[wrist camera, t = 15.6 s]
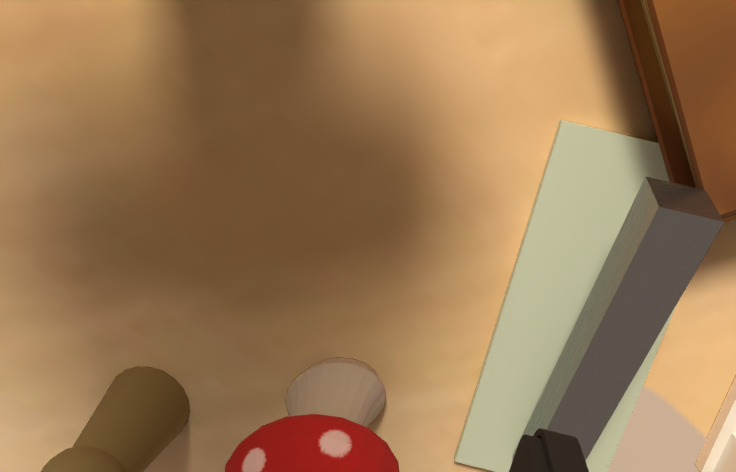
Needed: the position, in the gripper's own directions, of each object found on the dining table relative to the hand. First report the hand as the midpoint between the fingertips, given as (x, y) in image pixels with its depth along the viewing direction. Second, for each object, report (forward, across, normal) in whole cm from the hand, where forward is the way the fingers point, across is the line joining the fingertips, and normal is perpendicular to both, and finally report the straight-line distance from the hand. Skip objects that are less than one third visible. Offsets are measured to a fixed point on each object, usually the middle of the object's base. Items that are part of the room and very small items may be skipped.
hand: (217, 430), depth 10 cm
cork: (+31, +12, +23) cm, 40 cm away
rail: (+27, -15, +9) cm, 32 cm away
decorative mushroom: (+31, -1, +18) cm, 35 cm away
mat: (+30, -15, +9) cm, 35 cm away
